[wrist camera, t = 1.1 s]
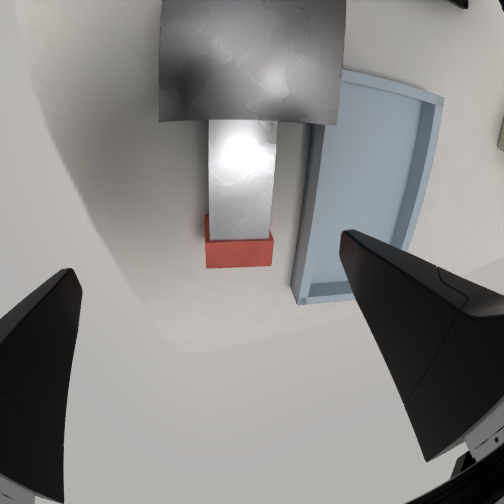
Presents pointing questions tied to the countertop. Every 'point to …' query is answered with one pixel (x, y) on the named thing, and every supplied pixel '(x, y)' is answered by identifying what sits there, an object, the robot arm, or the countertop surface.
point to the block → (251, 60)
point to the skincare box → (501, 139)
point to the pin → (240, 193)
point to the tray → (363, 178)
